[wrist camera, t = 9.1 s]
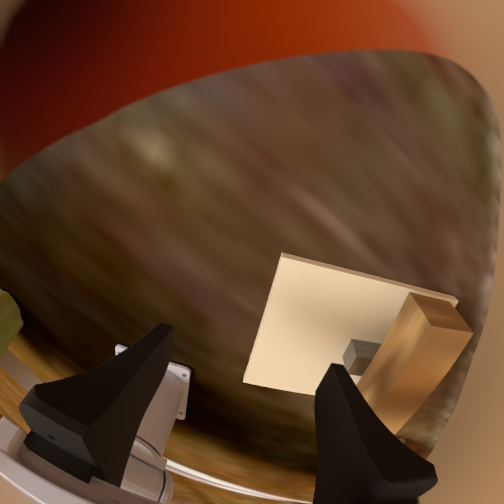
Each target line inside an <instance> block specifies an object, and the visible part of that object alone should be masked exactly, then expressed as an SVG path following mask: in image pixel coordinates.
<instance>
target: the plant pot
mask: <svg viewBox="0 0 504 504" xmlns="http://www.w3.org/2000/svg"><path fill="white" fill-rule="evenodd" d="M22 326H23V320H22V319H21V312H20V309H19V307H18V305H17V303H16V302H15V300H14V299H13V298H12V296H11V295H10V294H9V293H8V292H6V291H3V290H1V288H0V358H1V356H2V354H3V353H4V351H5V350H6V348H7V347H8V346H9V344H10V343H11V341H12V340H13V338H14V337H15V336H16V334H17V333H18V332H19V330H20V329H21V328H22Z"/></svg>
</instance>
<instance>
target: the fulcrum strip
mask: <svg viewBox="0 0 504 504" xmlns="http://www.w3.org/2000/svg"><path fill="white" fill-rule="evenodd" d="M380 346H381V344H380V343H374V342H368V341H362V340H356V339H351V341H350V343H349V345H348V347H347V349H346V350H345V352H344V354H343V356H342V357H343V362H344V366H345V368H346V370H347V371H348V373H349V375H356V376H363V374H364V372H365V371H366V369H367V368H368V366H369V364H370V363H371V361H372V360H373V358H374V356H375V355H376V353H377V351H378V350H379V348H380Z"/></svg>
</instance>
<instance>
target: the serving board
mask: <svg viewBox="0 0 504 504" xmlns="http://www.w3.org/2000/svg"><path fill="white" fill-rule="evenodd" d="M409 292H412V293H416V294H420V295H424V296H428V297H432V298H436V299H440V300H444V301H448V302H450V303H451V304H452V306H453V307H454V308H455V307H456V305H457V303H458V300H457V299H456V298H455V296H451V295H447V294H443V293H439V292H436V291H432V290H428V289H424V288H420V287H416V286H412V285H409V284H405V283H401V282H397V281H393V280H389V279H385V278H381V277H377V276H373V275H369V274H366V273H362V272H358V271H354V270H350V269H346V268H342V267H338V266H334V265H330V264H326V263H322V262H318V261H314V260H310V259H306V258H302V257H298V256H294V255H290V254H286V253H281V257H280V260H279V264H278V267H277V271H276V274H275V277H274V281H273V284H272V288H271V291H270V294H269V298H268V301H267V304H266V308H265V311H264V314H263V317H262V321H261V324H260V327H259V330H258V334H257V337H256V340H255V343H254V346H253V350H252V353H251V356H250V359H249V362H248V365H247V368H246V372H245V375H244V379H243V382H245V383H250V384H254V385H259V386H264V387H269V388H275V389H280V390H286V391H291V392H298V393H304V394H311V395H315V391H316V389H317V387H318V386H319V384H320V382H321V380H322V379H323V377H324V375H325V373H326V371H327V370H328V368H329V366H330V364H331V363H336V364H342V365H344V362H343V357H342V356H343V354H344V352H345V350H346V349H347V347H348V345H349V343H350V341H351V339H356V340H362V341H368V342H374V343H380V344H382V343H383V341H384V339H385V337H386V336H387V334H388V332H389V330H390V328H391V327H392V325H393V323H394V321H395V319H396V317H397V315H398V313H399V311H400V309H401V308H402V306H403V304H404V302H405V300H406V298H407V295H408V293H409ZM344 367H345V366H344ZM350 376H351V378H352V380H353V381H354V383H355V384H356V385H357V383H358V382H359V380H360V379H361V377H362V376H356V375H350Z"/></svg>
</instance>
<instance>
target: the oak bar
mask: <svg viewBox="0 0 504 504" xmlns="http://www.w3.org/2000/svg"><path fill="white" fill-rule="evenodd" d="M472 335H473V332H472V330H471V329H470V328H469V326H468V325H467V324H466V322H465V321H464V320H463V318H462V317H461V316H460V314H459V313H458V312H457V311H456V309H455V308H454V307H453V306H452V304H451V303H450V302H448V301H444V300H440V299H436V298H432V297H428V296H424V295H420V294H416V293H412V292H409V293H408V295H407V298H406V300H405V302H404V304H403V306H402V308H401V309H400V311H399V313H398V315H397V317H396V319H395V321H394V323H393V325H392V327H391V328H390V330H389V332H388V334H387V336H386V337H385V339H384V341H383V343H382V344H381V346H380V348H379V350H378V351H377V353H376V355H375V356H374V358H373V360H372V361H371V363H370V364H369V366H368V368H367V369H366V371H365V372H364V374H363V376H362V377H361V379H360V380H359V382H358V383H357V385H356V386H357V388H358V389H359V391H360V392H361V394H362V395H363V397H364V398H365V400H366V401H367V403H368V404H369V406H370V407H371V408H372V410H373V411H374V412H375V414H376V415H377V416H378V418H379V419H380V420H381V421H382V422H383V424H384V425H385V426H386V427H387V428H388V429H389V430H390V431H391V432H392V433H393V434H394V435H395V434H396V433H397V432H398V431H399V429H400V428H401V427H402V426H403V425H404V424H405V423H406V422H407V421H408V420H409V419H410V418H411V417H412V415H413V414H414V413H415V412H416V411H417V410H418V409H419V407H420V406H421V405H422V404H423V403H424V402H425V400H426V399H427V398H428V397H429V396H430V394H431V393H432V392H433V391H434V389H435V388H436V387H437V385H438V384H439V383H440V382H441V380H442V379H443V378H444V376H445V375H446V374H447V372H448V371H449V369H450V368H451V367H452V365H453V364H454V362H455V361H456V360H457V358H458V357H459V355H460V354H461V352H462V351H463V349H464V348H465V346H466V345H467V343H468V341H469V340H470V338H471V337H472Z"/></svg>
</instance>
